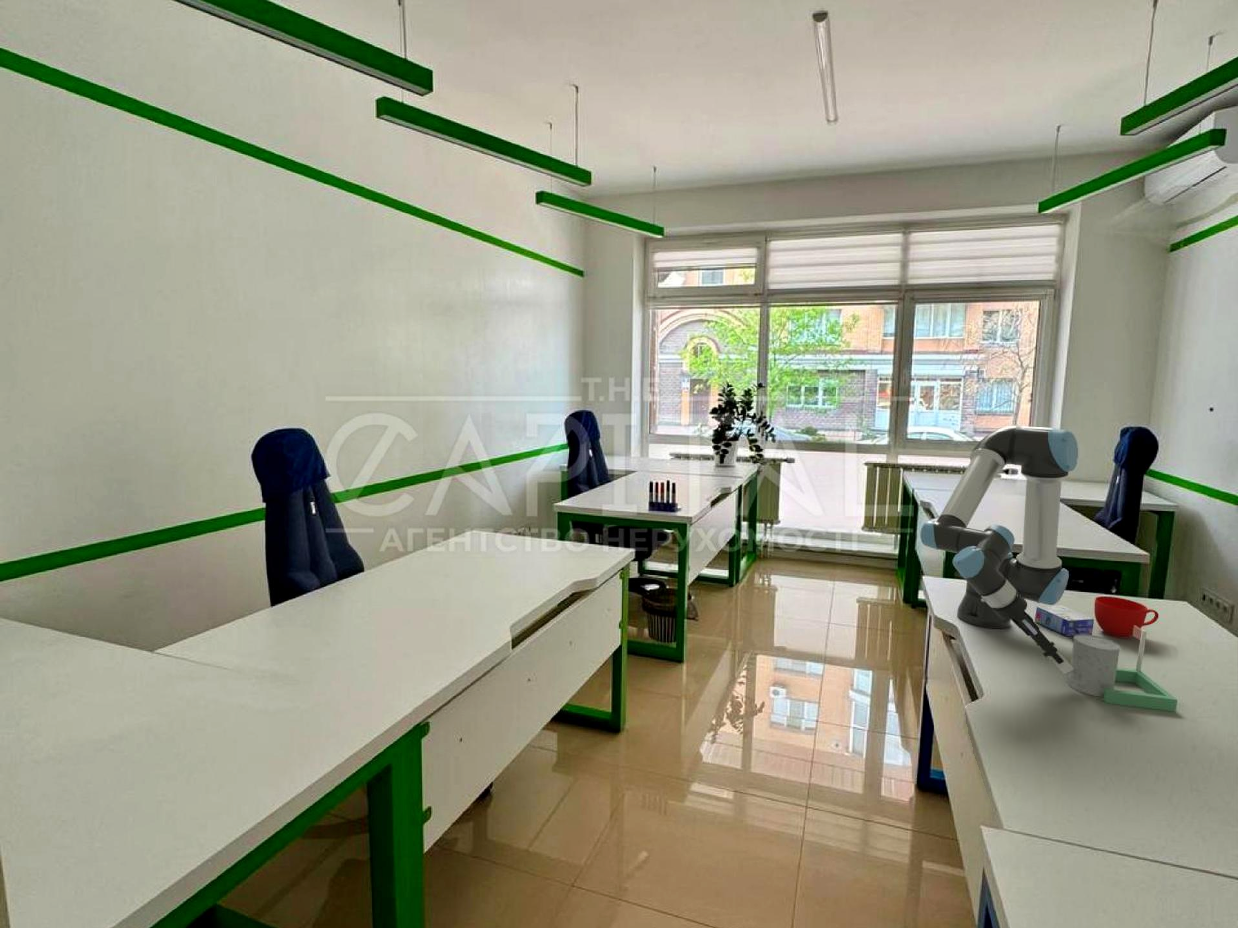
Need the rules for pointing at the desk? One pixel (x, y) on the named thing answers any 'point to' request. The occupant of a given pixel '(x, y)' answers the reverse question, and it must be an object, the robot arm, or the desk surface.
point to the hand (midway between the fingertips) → (1067, 670)
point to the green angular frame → (1140, 685)
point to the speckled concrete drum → (1093, 664)
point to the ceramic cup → (1120, 616)
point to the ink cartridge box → (1064, 620)
